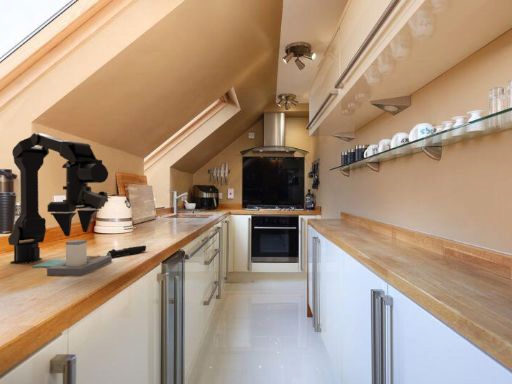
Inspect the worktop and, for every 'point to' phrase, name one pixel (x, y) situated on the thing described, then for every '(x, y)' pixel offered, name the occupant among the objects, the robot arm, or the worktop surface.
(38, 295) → the worktop surface
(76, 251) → the beige grey rectangular block
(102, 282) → the worktop surface
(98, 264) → the grey panel
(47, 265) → the teal mat
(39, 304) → the worktop surface
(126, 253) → the electric trimmer
